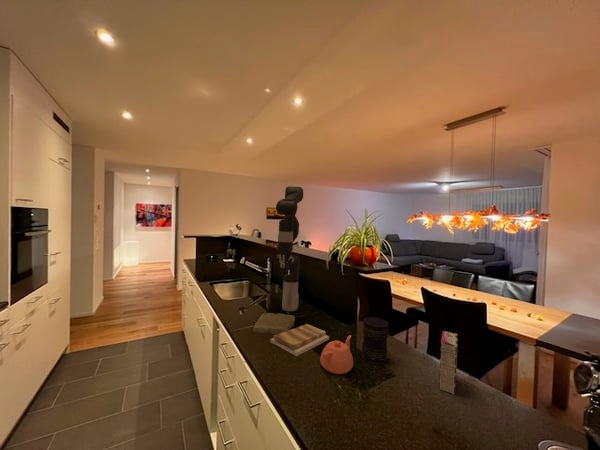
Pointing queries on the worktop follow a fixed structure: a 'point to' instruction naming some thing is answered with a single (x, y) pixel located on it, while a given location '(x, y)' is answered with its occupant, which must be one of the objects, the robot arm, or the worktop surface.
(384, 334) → the storage jar
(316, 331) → the light oak plank
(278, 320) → the decorative tile
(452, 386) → the candy bar box
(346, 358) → the teapot
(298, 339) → the honey oak plank
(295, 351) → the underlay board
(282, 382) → the worktop surface
